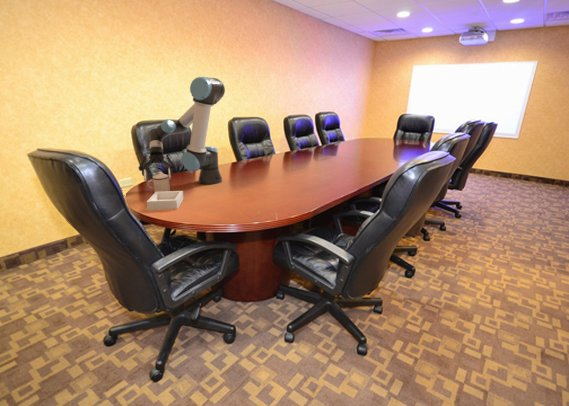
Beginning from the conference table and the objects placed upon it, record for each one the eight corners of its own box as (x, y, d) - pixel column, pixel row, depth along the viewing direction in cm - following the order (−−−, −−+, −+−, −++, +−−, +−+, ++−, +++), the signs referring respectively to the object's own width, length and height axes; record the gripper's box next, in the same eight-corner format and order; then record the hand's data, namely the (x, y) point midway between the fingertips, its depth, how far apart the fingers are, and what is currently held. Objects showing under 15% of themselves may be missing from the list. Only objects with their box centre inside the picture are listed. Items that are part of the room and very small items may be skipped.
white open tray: (183, 198, 170) (182, 190, 168) (177, 209, 154) (176, 200, 152) (156, 199, 168) (155, 191, 167) (147, 210, 152) (146, 201, 151)
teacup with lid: (170, 188, 189) (168, 169, 185) (170, 192, 180) (168, 173, 177) (149, 190, 185) (146, 171, 181) (148, 194, 177) (145, 174, 173)
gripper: (178, 152, 197) (180, 180, 189) (135, 154, 190) (135, 183, 182) (177, 145, 191) (179, 174, 182) (132, 146, 184) (133, 177, 175)
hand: (157, 179), depth 182 cm, fingers open, 13 cm apart
